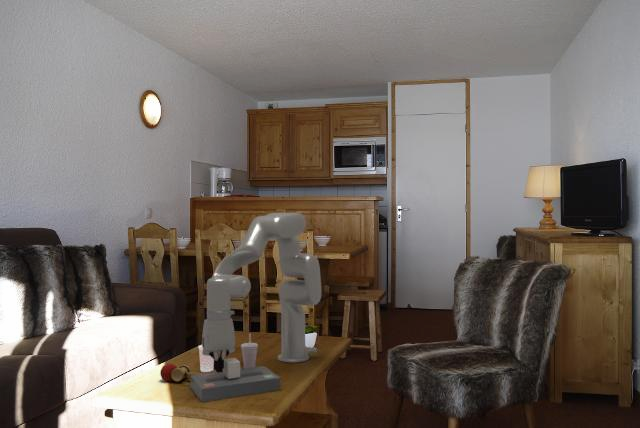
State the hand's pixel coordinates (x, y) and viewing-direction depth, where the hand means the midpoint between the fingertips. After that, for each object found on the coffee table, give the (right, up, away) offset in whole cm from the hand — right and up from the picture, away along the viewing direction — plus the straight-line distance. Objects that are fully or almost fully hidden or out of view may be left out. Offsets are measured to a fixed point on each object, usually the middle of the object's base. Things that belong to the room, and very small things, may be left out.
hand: (219, 371), depth 178 cm
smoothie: (+7, -7, +23) cm, 25 cm away
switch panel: (+4, -6, +4) cm, 9 cm away
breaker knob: (+4, -2, +2) cm, 5 cm away
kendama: (-14, -7, +11) cm, 19 cm away
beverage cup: (-9, -7, +24) cm, 27 cm away
